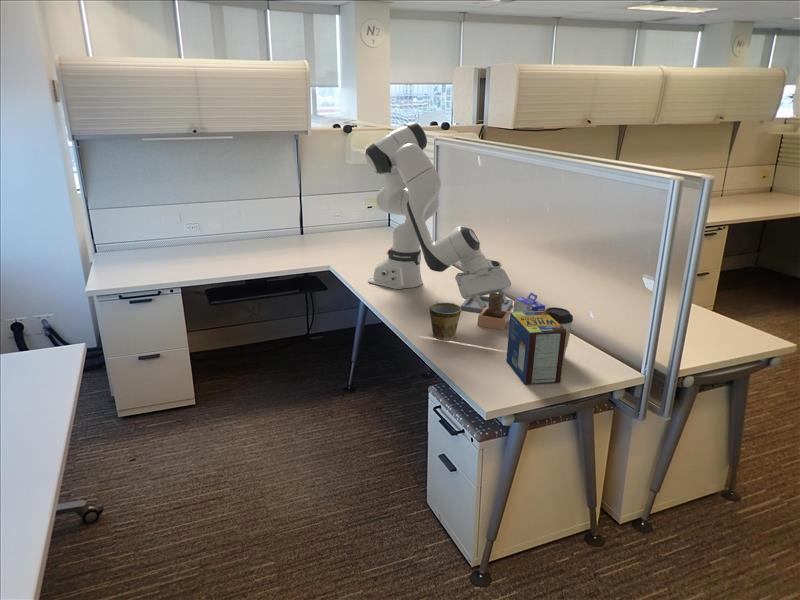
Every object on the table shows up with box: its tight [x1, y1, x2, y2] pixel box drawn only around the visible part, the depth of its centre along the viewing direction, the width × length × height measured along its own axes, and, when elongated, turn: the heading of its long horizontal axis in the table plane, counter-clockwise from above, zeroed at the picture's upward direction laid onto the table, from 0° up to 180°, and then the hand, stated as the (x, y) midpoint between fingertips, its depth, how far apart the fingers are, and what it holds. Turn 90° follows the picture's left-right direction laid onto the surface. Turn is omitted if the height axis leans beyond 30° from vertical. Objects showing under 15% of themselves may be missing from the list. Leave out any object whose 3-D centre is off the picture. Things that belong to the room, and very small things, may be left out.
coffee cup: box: [545, 306, 574, 361], centre depth 167 cm, size 9×9×15 cm
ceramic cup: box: [429, 302, 462, 342], centre depth 182 cm, size 13×10×10 cm
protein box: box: [505, 310, 567, 385], centre depth 158 cm, size 10×15×16 cm
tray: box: [460, 295, 514, 314], centre depth 208 cm, size 16×14×2 cm
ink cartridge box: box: [512, 292, 546, 312], centre depth 181 cm, size 10×6×14 cm, turn 24°
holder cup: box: [477, 308, 511, 331], centre depth 193 cm, size 9×9×4 cm
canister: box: [488, 292, 503, 318], centre depth 191 cm, size 4×4×10 cm
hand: (494, 304), depth 191 cm, fingers open, 8 cm apart
